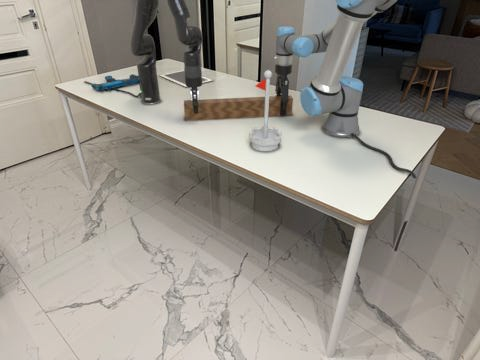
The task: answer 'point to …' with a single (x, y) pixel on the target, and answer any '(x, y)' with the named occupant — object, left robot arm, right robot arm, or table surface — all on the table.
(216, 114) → the beam
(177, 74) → the tablet
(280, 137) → the flag stand
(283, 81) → the right robot arm
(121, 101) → the table surface
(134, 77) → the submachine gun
